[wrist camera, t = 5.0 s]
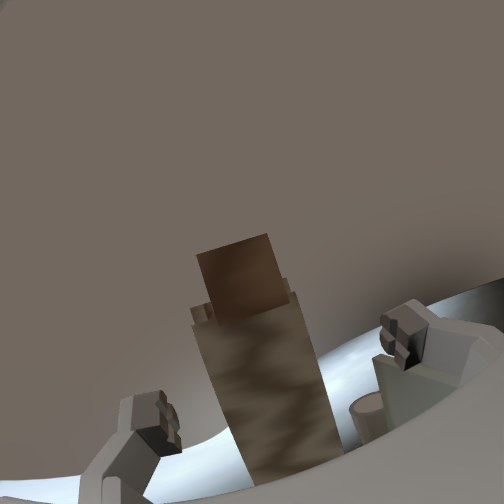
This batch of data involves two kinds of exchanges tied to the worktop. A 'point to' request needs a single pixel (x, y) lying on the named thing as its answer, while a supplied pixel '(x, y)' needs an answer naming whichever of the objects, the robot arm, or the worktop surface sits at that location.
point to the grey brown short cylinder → (369, 417)
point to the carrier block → (410, 389)
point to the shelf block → (269, 389)
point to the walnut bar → (242, 279)
